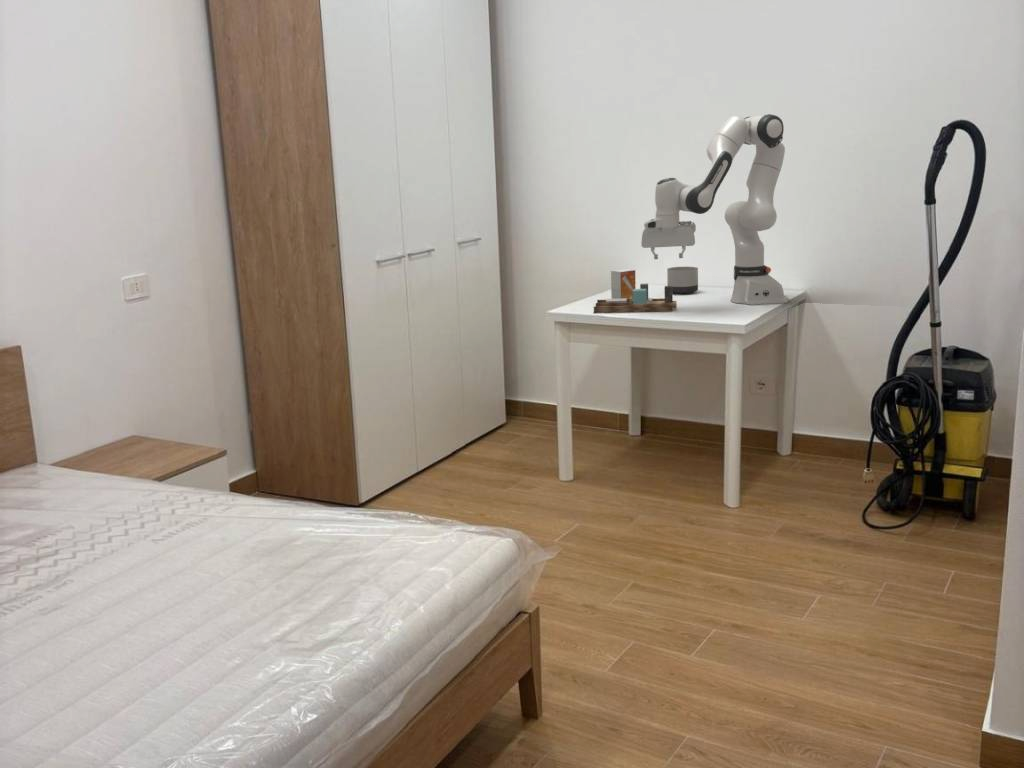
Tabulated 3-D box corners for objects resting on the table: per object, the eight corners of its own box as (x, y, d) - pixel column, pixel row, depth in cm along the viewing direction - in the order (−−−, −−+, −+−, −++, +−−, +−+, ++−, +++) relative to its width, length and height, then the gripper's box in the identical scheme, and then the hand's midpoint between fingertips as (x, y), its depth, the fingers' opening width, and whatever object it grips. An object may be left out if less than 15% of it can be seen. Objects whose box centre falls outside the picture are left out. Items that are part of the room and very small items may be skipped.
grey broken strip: (652, 302, 391) (652, 282, 389) (651, 305, 385) (651, 285, 383) (607, 303, 394) (606, 283, 392) (606, 306, 388) (605, 286, 386)
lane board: (672, 304, 391) (672, 298, 391) (672, 311, 375) (672, 305, 374) (597, 305, 396) (597, 299, 396) (593, 313, 380) (593, 306, 379)
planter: (664, 291, 424) (664, 267, 422) (693, 289, 425) (693, 265, 423) (671, 296, 412) (671, 271, 409) (701, 294, 413) (701, 269, 411)
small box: (621, 303, 399) (620, 271, 396) (611, 302, 404) (610, 270, 401) (636, 301, 403) (635, 269, 400) (626, 299, 408) (625, 268, 405)
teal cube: (646, 301, 383) (646, 288, 381) (646, 303, 378) (646, 290, 377) (633, 301, 383) (633, 289, 382) (633, 303, 379) (632, 290, 377)
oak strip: (676, 305, 382) (676, 285, 380) (676, 308, 376) (676, 287, 374) (630, 306, 385) (629, 286, 383) (629, 309, 379) (628, 288, 377)
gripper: (695, 220, 373) (696, 256, 376) (641, 222, 376) (642, 258, 380) (695, 221, 367) (696, 258, 370) (640, 224, 370) (641, 260, 374)
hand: (668, 258), depth 375 cm, fingers open, 8 cm apart
